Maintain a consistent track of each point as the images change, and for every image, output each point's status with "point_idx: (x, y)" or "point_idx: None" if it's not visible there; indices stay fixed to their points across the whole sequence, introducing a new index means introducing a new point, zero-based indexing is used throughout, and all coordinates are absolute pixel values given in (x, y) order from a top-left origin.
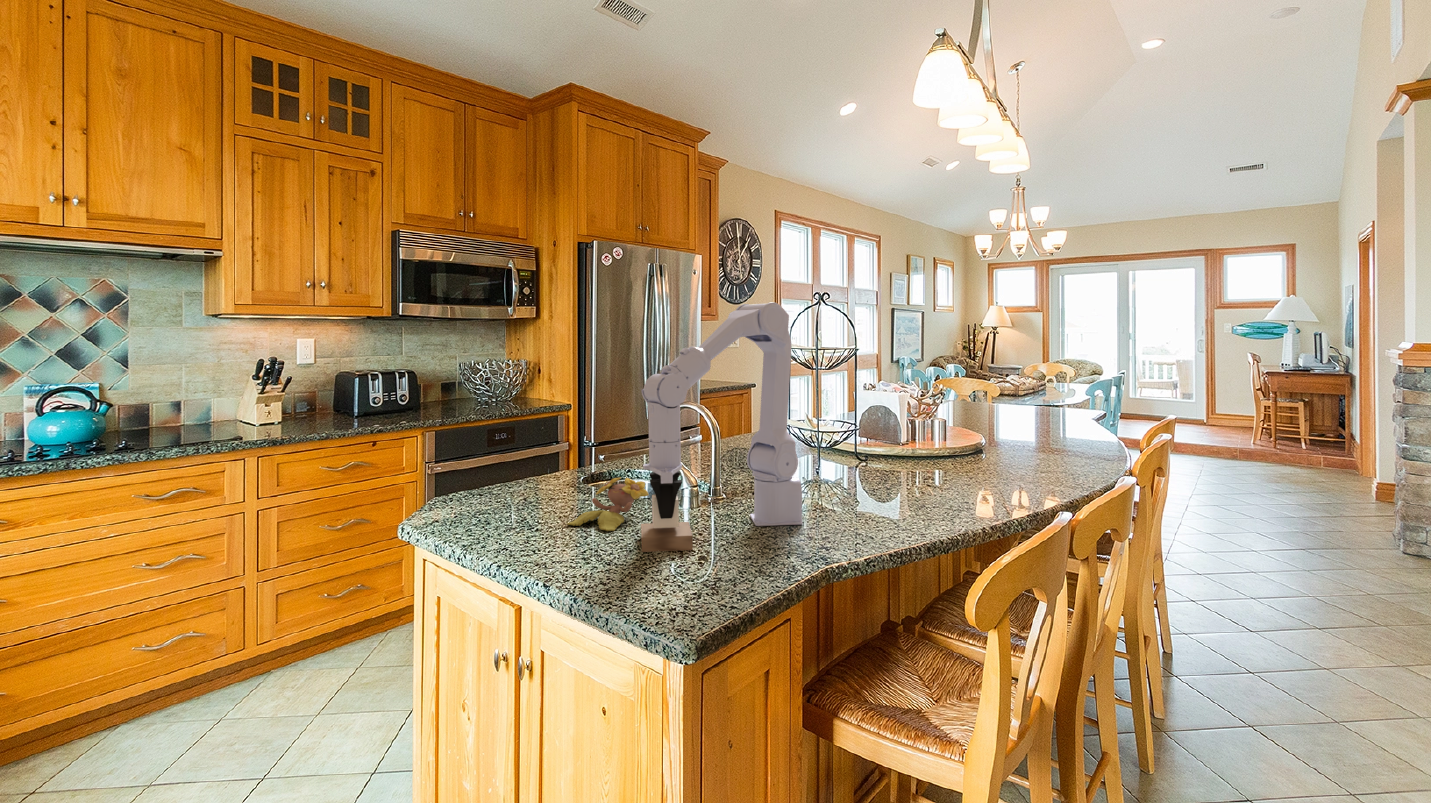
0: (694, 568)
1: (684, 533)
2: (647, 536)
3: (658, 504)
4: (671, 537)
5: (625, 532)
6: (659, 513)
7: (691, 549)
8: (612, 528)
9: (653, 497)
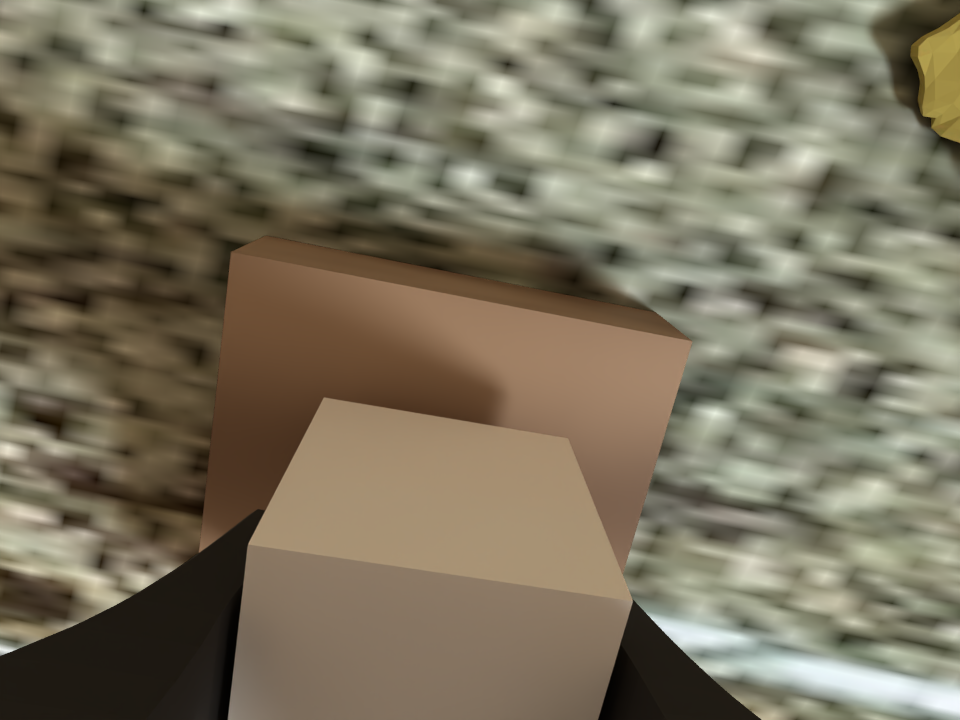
0: None
1: None
2: (256, 312)
3: (162, 580)
4: (206, 499)
5: (836, 212)
6: (236, 525)
7: None
8: (945, 107)
9: (452, 590)
